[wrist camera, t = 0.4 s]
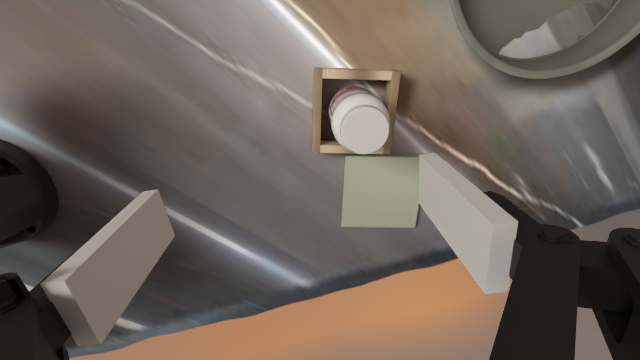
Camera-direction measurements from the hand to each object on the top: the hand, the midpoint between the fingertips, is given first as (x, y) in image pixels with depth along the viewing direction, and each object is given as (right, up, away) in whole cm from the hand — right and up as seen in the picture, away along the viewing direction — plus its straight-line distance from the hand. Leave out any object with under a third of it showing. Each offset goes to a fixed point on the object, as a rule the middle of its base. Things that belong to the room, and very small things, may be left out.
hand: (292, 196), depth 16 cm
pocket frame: (+5, +10, +24) cm, 27 cm away
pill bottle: (+5, +10, +24) cm, 27 cm away
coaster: (+10, -1, +29) cm, 31 cm away
